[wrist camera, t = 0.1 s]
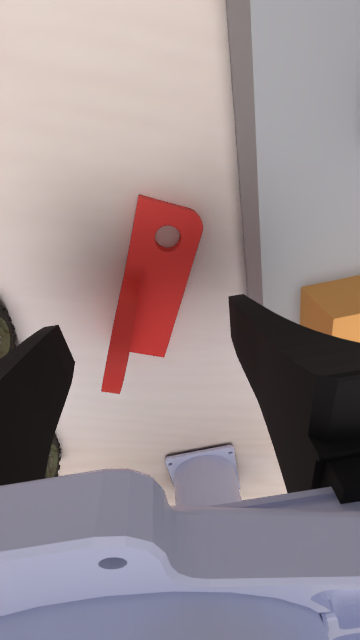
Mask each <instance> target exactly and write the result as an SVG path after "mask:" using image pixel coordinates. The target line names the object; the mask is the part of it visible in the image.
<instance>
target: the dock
mask: <svg viewBox="0 0 360 640" xmlns="http://www.w3.org/2000/svg"><path fill="white" fill-rule="evenodd" d="M226 8H227V21H228V35H229V48H230V62H231V75H232V89H233V102H234V116H235V129H236V143H237V156H238V170H239V184H240V197H241V211H242V224H243V238H244V251H245V265H246V278H247V292H248V297H249V298H251V299H252V300H254V301H256V302H257V303H259V304H261V305H262V306H264V307H266V308H267V309H269V310H271V311H273V312H275V313H276V314H278V315H280V316H282V317H284V318H286V319H288V320H290V321H293V322H295V323H297V324H299V325H300V299H301V287H304V286H309V285H313V284H318V283H323V282H328V281H333V280H338V279H343V278H348V277H352V276H357V275H360V0H226Z"/></svg>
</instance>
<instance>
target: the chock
mask: <svg viewBox="0 0 360 640" xmlns="http://www.w3.org/2000/svg"><path fill="white" fill-rule="evenodd" d="M300 325H302V326H305V327H307V328H310V329H313V330H315V331H318V332H321V333H324V334H328V335H331V336H335V337H338V338H342V339H346V340H350V341H354V342H359V343H360V275H357V276H352V277H348V278H343V279H338V280H333V281H328V282H323V283H318V284H313V285H309V286H304V287H301V299H300Z"/></svg>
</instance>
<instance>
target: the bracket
mask: <svg viewBox="0 0 360 640" xmlns="http://www.w3.org/2000/svg"><path fill="white" fill-rule="evenodd" d="M166 225H170V226H173V227H175V228H177V229H178V231H179V232H180V239H179V241H178V243H177V244H176V245H174V246H173V247H170V248H165V247H162V246H160V245H159V244H158V243H157V242H156V240H155V234H156V232H157V230H158V229H159V228H161V227H162V226H166ZM202 231H203V224H202V221H201V219H200V217H199V216H198V214H197V213H196V212H195V211H194V210H192V209H190V208H186V207H183V206H179V205H176V204H172V203H168V202H165V201H161V200H157V199H154V198H150V197H146V196H143V195H139V197H138V203H137V208H136V214H135V219H134V224H133V230H132V235H131V241H130V246H129V252H128V257H127V263H126V268H125V273H124V278H123V282H122V287H121V291H120V296H119V300H118V305H117V310H116V315H115V320H114V325H113V330H112V335H111V340H110V346H109V351H108V356H107V361H106V367H105V372H104V378H103V384H102V390H101V391H102V392H109V393H117V394H120V391H121V388H122V384H123V380H124V376H125V371H126V366H127V362H128V357H129V352H134V353H140V354H146V355H153V356H159V357H164V356H165V353H166V350H167V346H168V343H169V340H170V337H171V333H172V330H173V327H174V323H175V320H176V317H177V314H178V310H179V307H180V304H181V300H182V297H183V294H184V291H185V287H186V284H187V281H188V277H189V274H190V271H191V267H192V264H193V261H194V258H195V254H196V251H197V248H198V244H199V241H200V238H201V235H202Z"/></svg>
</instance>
